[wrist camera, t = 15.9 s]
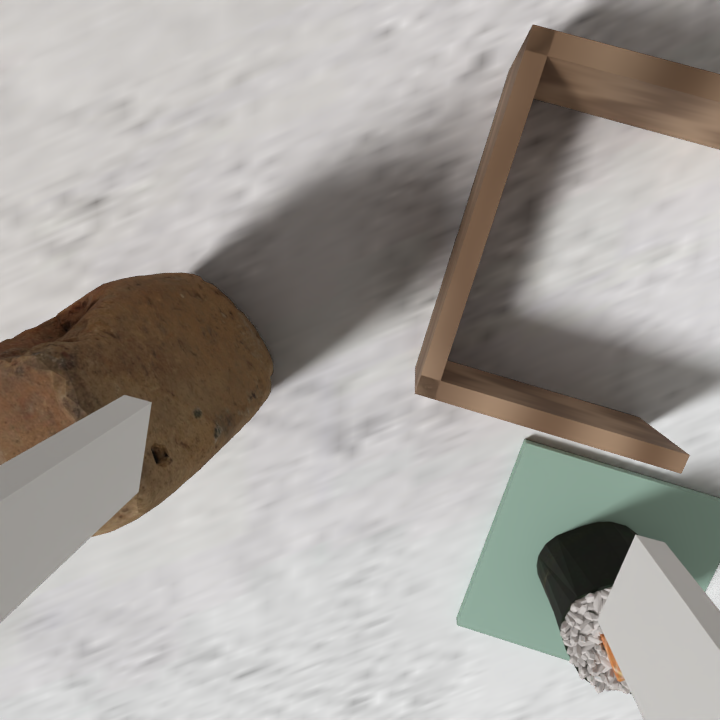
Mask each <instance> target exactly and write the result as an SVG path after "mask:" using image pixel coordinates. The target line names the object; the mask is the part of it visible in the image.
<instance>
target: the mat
mask: <svg viewBox="0 0 720 720" xmlns="http://www.w3.org/2000/svg"><path fill="white" fill-rule="evenodd" d="M596 522H614V523H618V524H622V525H626V526H627V527H629V528H630V529H632V530H633V531H634V532H636V533H637V534H638V535H639V536H643V537H647V538H650V539H654V540H658V541H661V542H665V543H666V544H667V546H668V547H669V548H670V549H671V551H672V552H673V553H674V554H675V556H676V557H677V558H678V559H679V561H680V562H681V563H682V564H683V566H684V567H685V568H686V569H687V571H688V572H689V573H690V574H691V576H692V577H693V578H694V579H695V581H696V582H697V583H698V584H699V586H700V587H701V588H702V589H703V591H704V592H705V591H706V589H707V587H708V585H709V583H710V581H711V579H712V577H713V575H714V573H715V571H716V569H717V567H718V565H719V563H720V498H718V497H714V496H711V495H708V494H704V493H701V492H698V491H695V490H691V489H688V488H685V487H681V486H678V485H675V484H671V483H668V482H665V481H661V480H658V479H655V478H651V477H648V476H645V475H642V474H638V473H635V472H632V471H628V470H625V469H622V468H618V467H615V466H612V465H608V464H605V463H602V462H598V461H595V460H592V459H589V458H585V457H582V456H579V455H575V454H572V453H569V452H565V451H562V450H559V449H555V448H552V447H549V446H545V445H542V444H539V443H536V442H532V441H529V440H526V439H524V442H523V444H522V447H521V450H520V452H519V455H518V458H517V460H516V463H515V465H514V468H513V471H512V473H511V476H510V479H509V481H508V484H507V486H506V489H505V492H504V494H503V497H502V500H501V502H500V505H499V508H498V510H497V513H496V515H495V518H494V521H493V523H492V526H491V529H490V531H489V534H488V536H487V539H486V542H485V544H484V547H483V550H482V552H481V555H480V558H479V560H478V563H477V565H476V568H475V571H474V573H473V576H472V579H471V581H470V584H469V586H468V589H467V592H466V594H465V597H464V600H463V602H462V605H461V608H460V610H459V613H458V615H457V625H458V626H462V627H465V628H468V629H471V630H474V631H477V632H480V633H484V634H487V635H490V636H493V637H496V638H499V639H502V640H505V641H509V642H512V643H515V644H518V645H521V646H524V647H527V648H530V649H534V650H537V651H540V652H543V653H546V654H549V655H552V656H555V657H559V658H562V659H565V660H568V661H570V657H569V655H568V654H567V651H566V649H565V646H564V643H563V640H562V637H561V636H560V630H559V627H558V624H557V621H556V618H555V615H554V612H553V610H552V607H551V605H550V603H549V600H548V598H547V595H546V593H545V591H544V588H543V586H542V584H541V581H540V579H539V577H538V574H537V566H536V565H537V560H538V555H539V554H540V552H541V550H542V549H543V547H544V545H545V544H546V543H547V542H549V541H550V540H551V539H553V538H554V537H555V536H557V535H559V534H562V533H565V532H568V531H570V530H573V529H576V528H579V527H581V526H584V525H588V524H592V523H596Z"/></svg>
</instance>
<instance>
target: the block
mask: <svg viewBox="0 0 720 720" xmlns="http://www.w3.org/2000/svg"><path fill="white" fill-rule="evenodd" d="M272 373H273V362H272V359H271V356H270V354H269V352H268V350H267V348H266V346H265V344H264V342H263V340H262V339H261V337H260V336H259V334H258V332H257V331H256V329H255V327H254V326H253V325H252V323H251V322H250V321H249V320H248V319H247V317H246V316H245V315H244V313H242V312H241V311H239V310H238V309H237V308H236V307H235V305H234V304H233V302H232V301H231V300H230V299H229V298H228V297H227V296H225V295H224V294H223V293H222V292H221V291H220V290H218V289H217V287H215V286H214V285H212V284H210V283H207V282H205V281H203V280H202V278H201V277H200V276H197V275H194V274H189V273H161V274H153V275H145V276H135V277H129V278H124V279H120V280H116V281H112V282H109V283H105V284H103V285H101V286H99V287H98V288H96V289H94V290H93V291H91V292H89V293H88V294H86V295H85V296H84V297H82V298H81V299H79V300H78V301H76V302H75V303H73V304H72V305H70V306H69V307H67V308H66V309H64V310H63V311H61V312H60V313H58V315H57V316H56V317H54V318H52V319H50V320H48V321H46V322H44V323H42V324H40V325H38V326H37V327H35V328H31V329H28V330H25V331H23V332H22V333H20V334H19V335H17V336H15V337H14V338H12V339H6V340H4V341H2V342H0V465H2V464H4V463H5V462H7V461H9V460H11V459H12V458H14V457H16V456H18V455H19V454H21V453H23V452H25V451H26V450H28V449H30V448H32V447H33V446H35V445H37V444H39V443H41V442H42V441H44V440H46V439H48V438H49V437H51V436H53V435H55V434H56V433H58V432H60V431H62V430H63V429H65V428H67V427H69V426H71V425H72V424H74V423H76V422H78V421H79V420H81V419H83V418H85V417H86V416H88V415H90V414H92V413H93V412H95V411H97V410H99V409H100V408H102V407H104V406H106V405H108V404H109V403H111V402H113V401H115V400H116V399H118V398H120V397H122V396H123V395H127V396H131V397H134V398H138V399H142V400H145V401H149V402H152V404H151V411H150V417H149V424H148V431H147V438H146V445H145V451H144V458H143V465H142V472H141V479H140V486H139V492H138V493H137V494H136V495H135V496H134V497H133V498H132V499H131V500H130V501H128V502H127V503H126V504H125V505H124V506H123V507H122V508H121V509H120V510H119V511H118V512H117V513H116V514H115V515H114V516H113V517H112V518H111V519H109V520H108V521H107V522H106V523H105V524H104V525H103V526H102V527H101V528H100V529H99V530H98V531H97V532H96V533H95V534H94V535H93V536H97V535H101V534H104V533H108V532H111V531H114V530H116V529H118V528H120V527H122V526H124V525H126V524H128V523H130V522H132V521H135V520H137V519H138V518H139V517H141V516H142V515H144V514H145V513H147V512H148V511H150V510H151V509H153V508H154V507H156V506H157V505H159V504H160V503H161V502H163V501H164V500H165V499H166V498H167V497H169V496H170V495H171V494H172V493H174V492H175V491H176V490H177V489H178V488H179V487H180V486H181V485H182V484H184V483H185V482H186V481H187V480H188V479H189V478H191V477H192V476H193V475H194V474H195V473H196V472H198V471H199V470H200V469H201V468H202V467H203V466H204V465H205V464H206V463H207V462H208V461H209V460H210V459H211V458H212V457H213V456H214V455H215V454H216V453H217V452H218V451H219V450H220V449H221V448H222V447H223V446H224V445H225V444H226V443H227V442H229V441H230V439H231V438H232V437H233V436H234V435H235V434H237V433H238V432H239V431H240V430H241V428H242V427H243V426H244V425H245V424H246V423H247V422H248V421H250V420H251V418H252V417H253V416H254V415H255V414H256V412H257V411H258V410H259V408H260V407H261V406H262V404H263V403H264V402H265V401H266V399H267V398H268V396H269V394H270V392H271V379H270V376H271V375H272ZM93 536H92V537H93Z"/></svg>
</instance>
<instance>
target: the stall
mask: <svg viewBox="0 0 720 720" xmlns="http://www.w3.org/2000/svg"><path fill="white" fill-rule="evenodd" d="M533 99H536V100H540V101H543V102H547V103H551V104H554V105H558V106H562V107H565V108H569V109H573V110H576V111H580V112H584V113H587V114H591V115H595V116H598V117H602V118H606V119H609V120H613V121H617V122H620V123H624V124H628V125H631V126H635V127H639V128H642V129H646V130H650V131H653V132H657V133H661V134H664V135H668V136H672V137H675V138H679V139H683V140H686V141H690V142H694V143H697V144H701V145H705V146H708V147H712V148H716V149H719V150H720V74H717V73H713V72H710V71H706V70H702V69H698V68H695V67H691V66H687V65H683V64H680V63H676V62H672V61H668V60H665V59H661V58H657V57H653V56H650V55H646V54H642V53H638V52H635V51H631V50H627V49H623V48H619V47H616V46H612V45H608V44H604V43H601V42H597V41H593V40H589V39H586V38H582V37H578V36H574V35H571V34H567V33H563V32H559V31H556V30H552V29H548V28H544V27H541V26H537V25H532V27H531V29H530V31H529V33H528V35H527V37H526V39H525V41H524V43H523V45H522V47H521V48H520V50H519V52H518V54H517V56H516V58H515V60H514V62H513V64H512V66H511V68H510V70H509V72H508V75H507V79H506V82H505V85H504V88H503V91H502V94H501V98H500V101H499V104H498V107H497V110H496V113H495V117H494V120H493V123H492V126H491V129H490V132H489V136H488V139H487V142H486V145H485V148H484V151H483V155H482V158H481V161H480V164H479V167H478V170H477V174H476V177H475V180H474V183H473V186H472V189H471V193H470V196H469V199H468V202H467V205H466V208H465V212H464V215H463V218H462V221H461V224H460V227H459V231H458V234H457V237H456V240H455V243H454V246H453V250H452V253H451V256H450V259H449V262H448V266H447V269H446V272H445V275H444V278H443V281H442V285H441V288H440V291H439V294H438V297H437V300H436V304H435V307H434V310H433V313H432V316H431V319H430V323H429V326H428V329H427V332H426V335H425V338H424V342H423V345H422V348H421V351H420V354H419V357H418V361H417V364H416V367H415V394H418V395H421V396H425V397H428V398H431V399H435V400H438V401H441V402H445V403H448V404H451V405H455V406H458V407H461V408H465V409H468V410H471V411H475V412H478V413H481V414H485V415H488V416H491V417H495V418H498V419H501V420H505V421H508V422H511V423H514V424H518V425H521V426H524V427H528V428H531V429H534V430H538V431H541V432H544V433H548V434H551V435H554V436H558V437H561V438H564V439H568V440H571V441H574V442H578V443H581V444H584V445H588V446H591V447H594V448H598V449H601V450H604V451H608V452H611V453H614V454H618V455H621V456H624V457H628V458H631V459H634V460H638V461H641V462H644V463H647V464H651V465H654V466H657V467H661V468H664V469H667V470H671V471H674V472H677V473H682V471H683V469H684V467H685V464H686V462H687V460H688V458H689V456H690V455H689V454H687V453H686V452H685V451H683V450H682V449H681V448H679V447H678V446H677V445H675V444H674V443H673V442H671V441H670V440H669V439H667V438H666V437H665V436H663V435H662V434H661V433H659V432H658V431H657V430H655V429H654V428H653V427H651V426H650V425H649V424H647V423H646V422H645V421H643V420H642V419H641V418H639V417H636V416H633V415H630V414H626V413H623V412H620V411H616V410H613V409H609V408H606V407H603V406H599V405H596V404H593V403H589V402H586V401H583V400H579V399H576V398H572V397H569V396H566V395H562V394H559V393H556V392H552V391H549V390H545V389H542V388H539V387H535V386H532V385H529V384H525V383H522V382H519V381H515V380H512V379H508V378H505V377H502V376H498V375H495V374H492V373H488V372H485V371H482V370H478V369H475V368H471V367H468V366H465V365H461V364H458V363H455V362H451V361H448V360H447V359H448V356H449V353H450V350H451V347H452V344H453V341H454V338H455V335H456V332H457V329H458V326H459V323H460V320H461V317H462V314H463V311H464V308H465V305H466V302H467V299H468V296H469V293H470V290H471V287H472V284H473V281H474V278H475V275H476V271H477V268H478V265H479V262H480V259H481V256H482V253H483V250H484V247H485V244H486V241H487V238H488V235H489V232H490V229H491V226H492V223H493V220H494V217H495V214H496V211H497V208H498V205H499V202H500V199H501V196H502V193H503V190H504V187H505V183H506V180H507V177H508V174H509V171H510V168H511V165H512V162H513V159H514V156H515V153H516V150H517V147H518V144H519V141H520V138H521V135H522V132H523V129H524V126H525V123H526V120H527V117H528V114H529V111H530V108H531V105H532V102H533Z"/></svg>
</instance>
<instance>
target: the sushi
mask: <svg viewBox="0 0 720 720" xmlns="http://www.w3.org/2000/svg"><path fill="white" fill-rule="evenodd" d="M635 535H638V534H637V533H636V532H634V531H633V530H632V529H630V528H629V527H627V526H626V525H622V524H618V523H614V522H596V523H592V524H588V525H584V526H581V527H579V528H576V529H573V530H570V531H568V532H565V533H562V534H559V535H557V536H555V537H554V538H553V539H551V540H550V541H549V542H547V543H546V544H545V545H544V547H543V549H542V550H541V552H540V554H539V555H538V560H537V565H536V566H537V574H538V577H539V579H540V581H541V584H542V586H543V588H544V591H545V593H546V595H547V598H548V600H549V603H550V605H551V607H552V610H553V612H554V615H555V618H556V621H557V624H558V627H559V630H560V636H561V637H562V640H563V643H564V646H565V649H566V651H567V654H568V655H569V657H570V661H569V662H570V663H571V664H572V665H573V664H574V666H575V668H576V669H577V671H578V673H579V676H580V678H581V679H582V680H583V679H585V680H586V681H588V682H590V683H591V685H593V686H595V690H596V691H597V693H598V694H599V693H601V692H603V690H604V689H605V690H606V691H609V690H619V691H623V693H625V694H628V693H629V692H630V694H631V691H630V689H629V687H628V685H627V683H626V681H625V679H624V676H623V674H622V672H621V670H620V668H619V666H618V664H617V661H616V659H615V657H614V655H613V653H612V651H611V649H610V647H609V644H608V642H607V640H606V638H605V636H604V634H603V632H602V629H601V627H600V625H599V623H598V621H597V620H598V618H599V616H600V614H601V611H602V609H603V607H604V605H605V602H606V600H607V598H608V595H609V593H610V591H611V589H612V586H613V584H614V582H615V580H616V577H617V575H618V573H619V571H620V568H621V566H622V564H623V562H624V559H625V557H626V555H627V553H628V550H629V548H630V546H631V544H632V541H633V539H634V537H635Z"/></svg>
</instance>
